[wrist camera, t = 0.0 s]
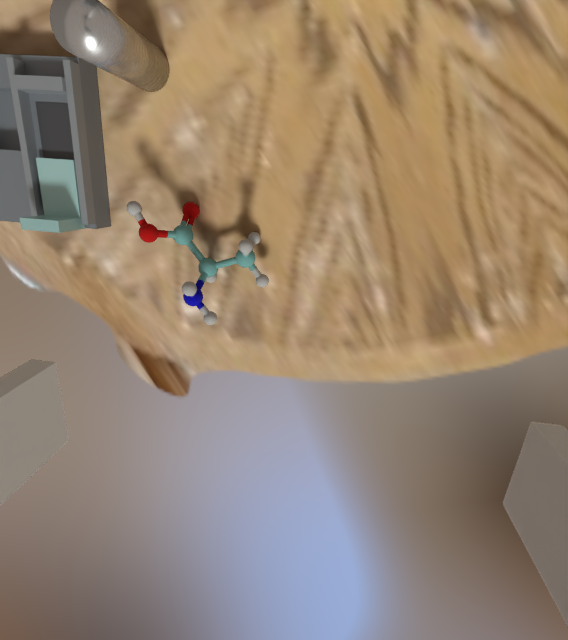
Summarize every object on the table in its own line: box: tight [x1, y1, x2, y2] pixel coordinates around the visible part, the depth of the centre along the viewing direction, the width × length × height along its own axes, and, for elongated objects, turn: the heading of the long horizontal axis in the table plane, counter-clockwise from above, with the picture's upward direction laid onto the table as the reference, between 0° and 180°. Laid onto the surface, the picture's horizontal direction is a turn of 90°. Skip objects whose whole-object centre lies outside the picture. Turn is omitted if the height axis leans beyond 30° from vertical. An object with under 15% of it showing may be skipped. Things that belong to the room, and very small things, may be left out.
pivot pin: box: [50, 0, 169, 92], centre depth 28 cm, size 4×4×10 cm
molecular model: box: [127, 201, 269, 325], centre depth 34 cm, size 12×10×10 cm
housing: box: [0, 54, 111, 229], centre depth 35 cm, size 14×12×4 cm
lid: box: [20, 158, 85, 233], centre depth 33 cm, size 6×4×4 cm, turn 176°
